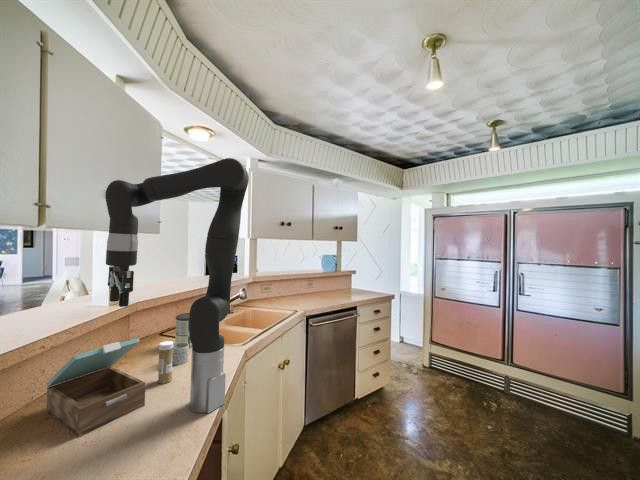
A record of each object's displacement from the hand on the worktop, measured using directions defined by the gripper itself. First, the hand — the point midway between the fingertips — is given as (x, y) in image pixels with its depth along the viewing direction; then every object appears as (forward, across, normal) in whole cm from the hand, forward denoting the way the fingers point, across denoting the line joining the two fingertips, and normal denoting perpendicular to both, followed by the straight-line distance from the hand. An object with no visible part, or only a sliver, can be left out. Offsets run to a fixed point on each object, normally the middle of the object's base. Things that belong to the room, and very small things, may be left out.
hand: (118, 303), depth 83 cm
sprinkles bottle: (+31, +5, -17) cm, 35 cm away
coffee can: (+31, +34, -38) cm, 59 cm away
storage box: (+31, +3, +3) cm, 31 cm away
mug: (+31, +17, -26) cm, 44 cm away
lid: (+18, +4, +3) cm, 19 cm away
